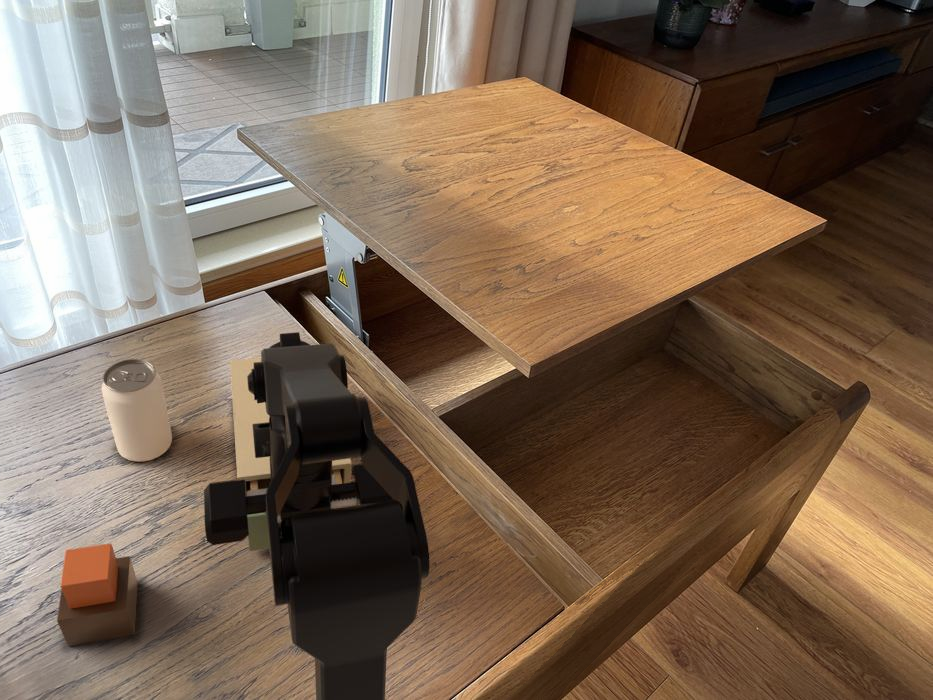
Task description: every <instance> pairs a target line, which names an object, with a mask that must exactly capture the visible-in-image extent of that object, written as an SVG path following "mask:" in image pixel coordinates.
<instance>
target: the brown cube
mask: <svg viewBox="0 0 933 700" xmlns="http://www.w3.org/2000/svg"><path fill="white" fill-rule="evenodd" d="M116 560H117V563H118V577H117V590H116V601H114V602H108V603H102V604H96V605H90V606H84V607H78V608H72V609H70V608H69V605H68V603H67V600H66V598H65V596H64V593H63V591H62V589H60V597H59V604H58V611H57V617H56V622H57V624H58V626H59V629H60V631H61V634H62V635H63V638H64V640H65V642H66V644H67V646H68V647H74V646H80V645H85V644H90V643H96V642H102V641H107V640H113V639H118V638H124V637H128V636H135V634H136V620H137V619H136V617H137V601H138V585H139V584H138V579H137V576H136V572H135V569H134V566H133V562H132V559H131V556H130V555H127V556H121V557H116Z"/></svg>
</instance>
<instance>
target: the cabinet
mask: <svg viewBox="0 0 933 700" xmlns="http://www.w3.org/2000/svg"><path fill="white" fill-rule="evenodd" d="M261 358H262V357H254V358H242V359H241V358H239V359H232V360H231V359H230V360H229V367H230V381H231V383H230V384H231V393H232V394H231V397H232V398H231V399H232V412H233V414H232V415H233V431H234V446H235V447H234V448H235V461H236V478H237V479H244V478H245V487H246V492H247V491H250V490H251V486H250V481H251V480H259V479H267V478H271V473H270V457H261V458H256V457H255V449H254V438H253V425H252V424H258V423H267V422H269V417H270V416H269V415H268V414H267V412H266V405H265V402H264V403H257V400H254V395H253V394H252V393H251V392H250V391H249V390H248V380H247V376H248V375H249V374H250V373H251V372H252V370H251V369H254V363H255V362H261ZM337 469H340V474H341V479H342V484H343V483H350V482H351V481H352V480H351V479H352V471H351V469H352V458H349V459H341V460H334V461H332V470H337Z"/></svg>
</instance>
